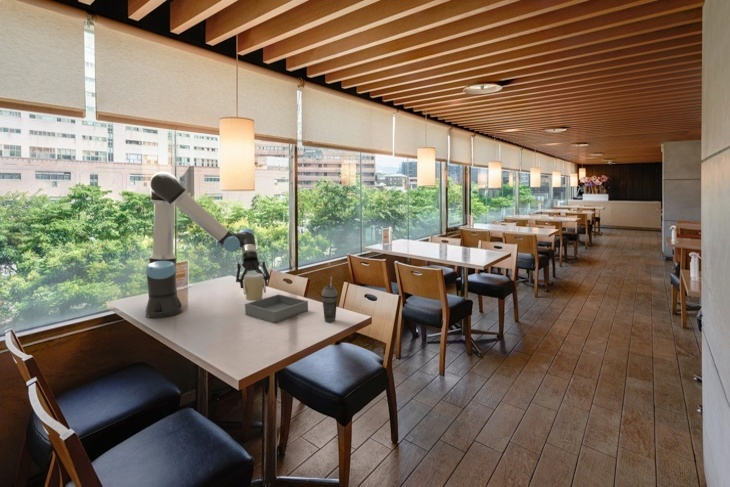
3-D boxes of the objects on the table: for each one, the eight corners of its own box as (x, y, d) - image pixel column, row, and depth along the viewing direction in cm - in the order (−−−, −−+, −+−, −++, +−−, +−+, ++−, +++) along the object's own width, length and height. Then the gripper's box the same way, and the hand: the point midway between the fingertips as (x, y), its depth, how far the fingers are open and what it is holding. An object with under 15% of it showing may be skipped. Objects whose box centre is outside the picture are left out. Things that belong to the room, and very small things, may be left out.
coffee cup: (266, 296, 190) (266, 273, 188) (259, 301, 181) (259, 277, 179) (248, 295, 191) (248, 272, 189) (241, 300, 182) (240, 276, 180)
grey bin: (275, 323, 160) (274, 312, 159) (245, 314, 171) (244, 304, 171) (308, 311, 176) (307, 301, 175) (278, 303, 188) (278, 294, 187)
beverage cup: (329, 317, 168) (329, 273, 165) (341, 320, 164) (341, 275, 161) (318, 321, 163) (317, 276, 160) (330, 325, 158) (329, 278, 155)
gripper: (269, 257, 202) (276, 294, 190) (227, 260, 193) (231, 298, 181) (271, 249, 196) (278, 286, 184) (227, 251, 187) (231, 290, 175)
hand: (255, 292), depth 182 cm, fingers closed on coffee cup, 9 cm apart
